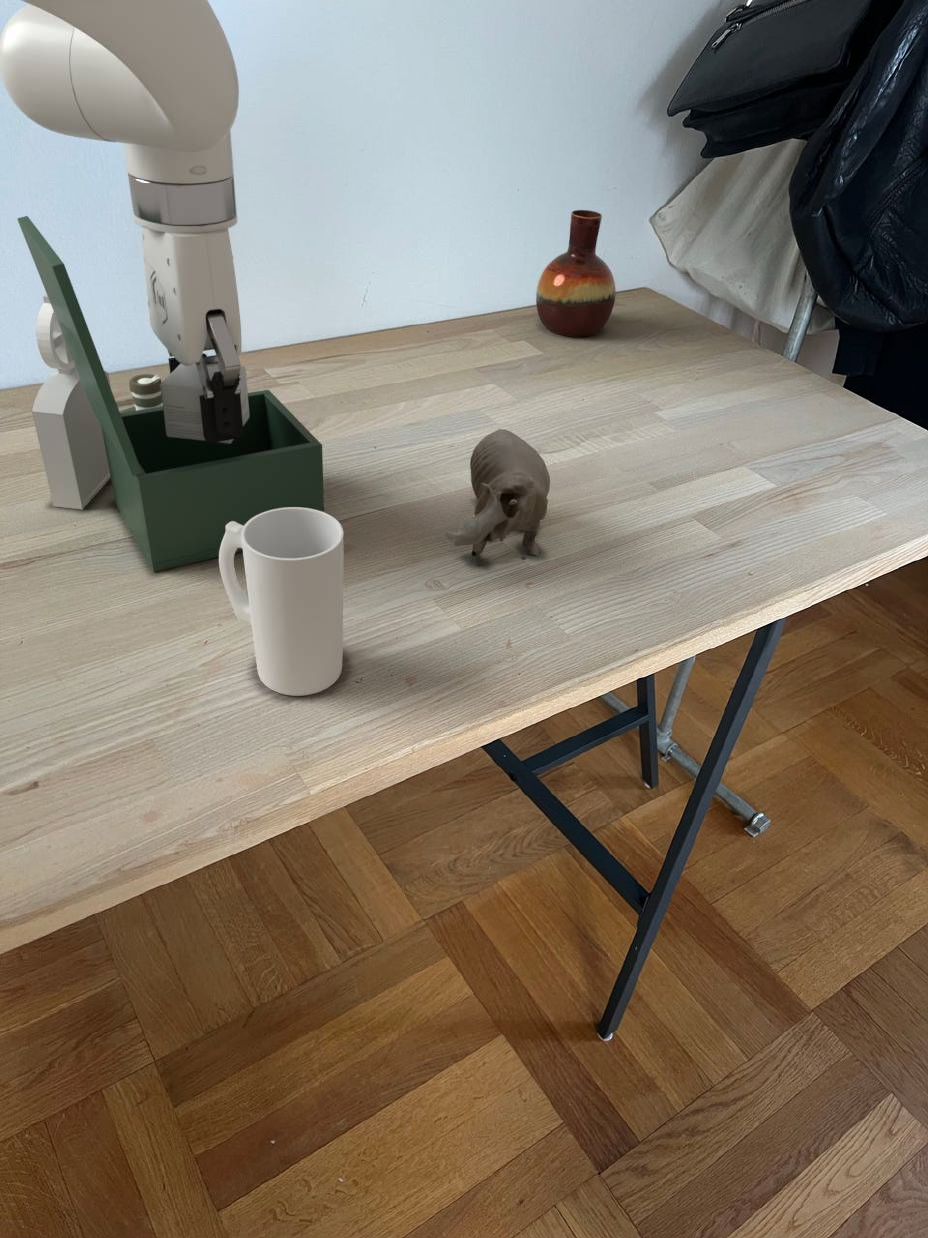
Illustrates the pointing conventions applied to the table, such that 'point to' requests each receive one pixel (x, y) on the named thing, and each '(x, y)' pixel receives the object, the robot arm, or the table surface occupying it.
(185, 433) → the small box
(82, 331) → the bin lid
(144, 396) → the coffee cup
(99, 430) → the gravestone
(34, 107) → the robot arm
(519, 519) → the rhinoceros figurine
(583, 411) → the table surface
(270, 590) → the mug
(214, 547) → the bin
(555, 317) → the vase
